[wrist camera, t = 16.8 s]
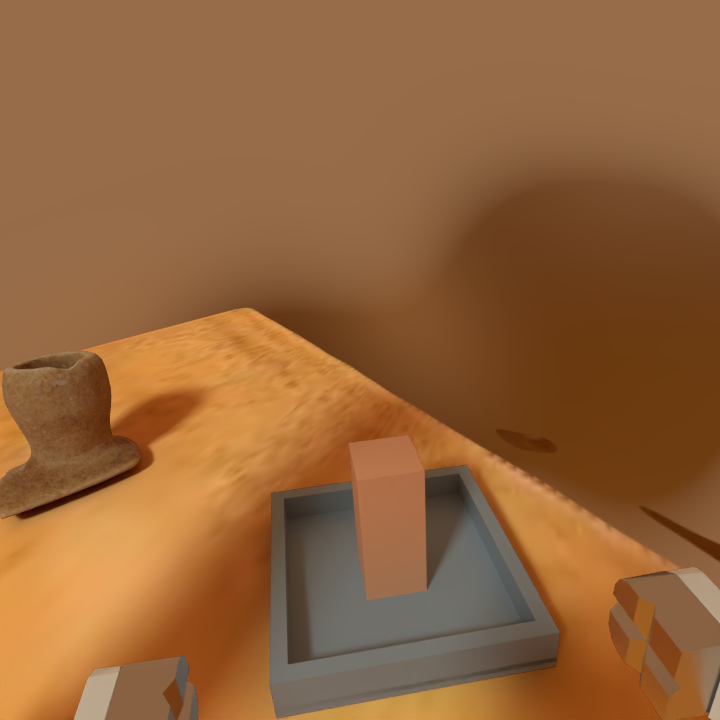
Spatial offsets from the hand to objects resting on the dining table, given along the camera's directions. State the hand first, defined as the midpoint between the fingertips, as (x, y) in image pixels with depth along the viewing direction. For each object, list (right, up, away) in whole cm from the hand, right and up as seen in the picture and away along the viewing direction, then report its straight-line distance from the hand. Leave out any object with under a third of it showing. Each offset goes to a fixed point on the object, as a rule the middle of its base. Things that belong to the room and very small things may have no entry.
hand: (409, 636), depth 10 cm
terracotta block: (+2, -13, +36) cm, 38 cm away
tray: (+2, -14, +36) cm, 39 cm away
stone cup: (-35, -9, +54) cm, 65 cm away
